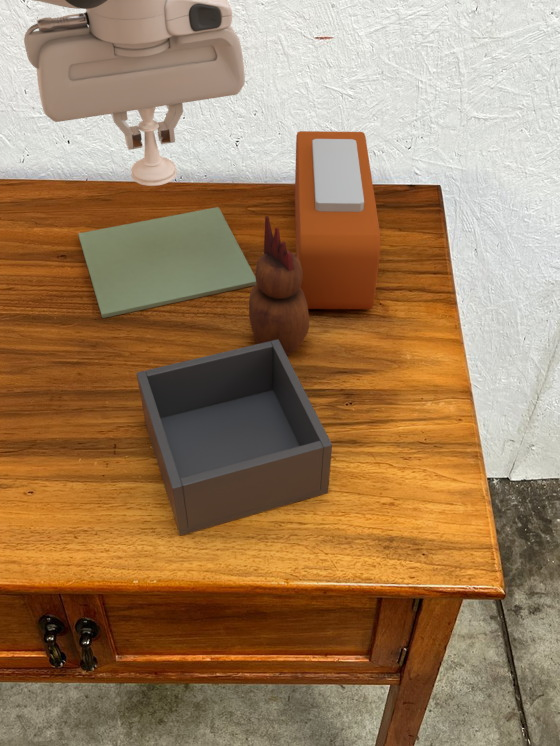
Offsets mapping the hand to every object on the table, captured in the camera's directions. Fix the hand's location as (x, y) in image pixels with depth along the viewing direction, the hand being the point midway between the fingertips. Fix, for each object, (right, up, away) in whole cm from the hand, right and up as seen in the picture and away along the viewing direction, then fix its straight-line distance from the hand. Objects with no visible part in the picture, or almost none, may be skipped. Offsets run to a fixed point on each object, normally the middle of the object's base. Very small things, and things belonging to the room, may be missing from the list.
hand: (150, 143), depth 82 cm
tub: (+9, -32, -10) cm, 35 cm away
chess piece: (0, -3, +3) cm, 4 cm away
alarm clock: (+20, -10, +13) cm, 25 cm away
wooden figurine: (+13, -21, +1) cm, 25 cm away
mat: (0, -11, +11) cm, 15 cm away
